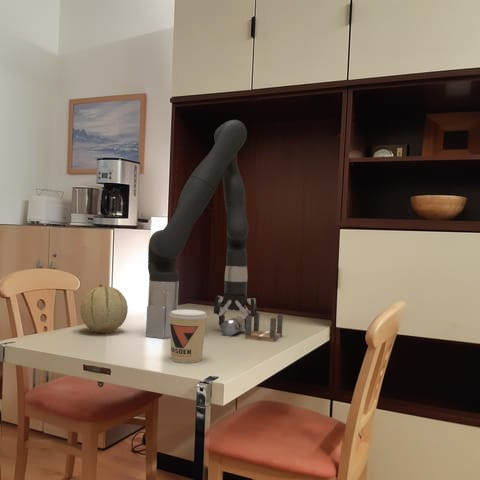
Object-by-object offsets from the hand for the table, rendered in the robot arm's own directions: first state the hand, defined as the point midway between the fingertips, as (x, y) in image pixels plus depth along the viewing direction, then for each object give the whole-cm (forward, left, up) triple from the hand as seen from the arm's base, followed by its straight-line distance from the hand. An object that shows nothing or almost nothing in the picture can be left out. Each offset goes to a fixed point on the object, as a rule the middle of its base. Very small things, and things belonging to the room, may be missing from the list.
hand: (234, 328), depth 163 cm
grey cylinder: (-1, 0, -2) cm, 2 cm away
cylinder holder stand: (-2, -11, -2) cm, 11 cm away
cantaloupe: (-22, +36, -2) cm, 42 cm away
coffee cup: (-41, -2, -2) cm, 41 cm away
